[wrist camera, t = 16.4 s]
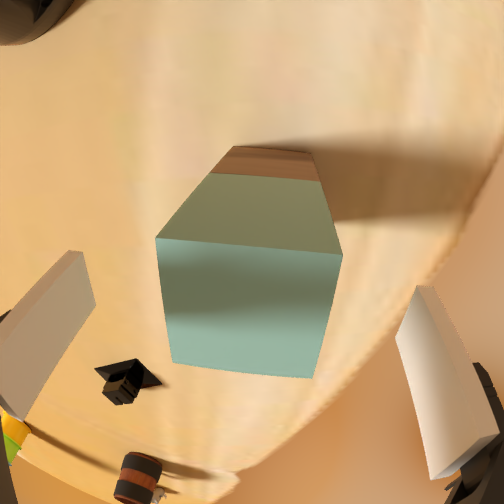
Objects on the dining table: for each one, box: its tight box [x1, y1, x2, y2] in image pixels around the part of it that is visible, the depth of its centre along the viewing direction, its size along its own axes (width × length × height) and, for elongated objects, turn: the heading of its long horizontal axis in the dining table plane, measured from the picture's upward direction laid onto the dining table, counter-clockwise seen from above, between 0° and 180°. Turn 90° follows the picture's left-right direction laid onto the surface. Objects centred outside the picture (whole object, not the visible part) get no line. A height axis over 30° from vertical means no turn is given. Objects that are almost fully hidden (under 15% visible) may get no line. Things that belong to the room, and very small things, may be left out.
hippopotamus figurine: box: [151, 488, 167, 504], centre depth 63 cm, size 7×12×8 cm, turn 74°
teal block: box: [155, 173, 343, 379], centre depth 15 cm, size 6×6×8 cm
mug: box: [114, 452, 162, 504], centre depth 52 cm, size 9×12×12 cm
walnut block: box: [210, 146, 321, 182], centre depth 22 cm, size 6×6×8 cm
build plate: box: [94, 359, 162, 405], centre depth 39 cm, size 12×7×5 cm, turn 118°
